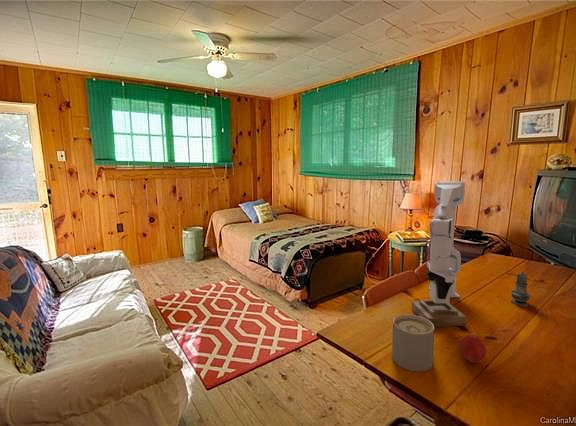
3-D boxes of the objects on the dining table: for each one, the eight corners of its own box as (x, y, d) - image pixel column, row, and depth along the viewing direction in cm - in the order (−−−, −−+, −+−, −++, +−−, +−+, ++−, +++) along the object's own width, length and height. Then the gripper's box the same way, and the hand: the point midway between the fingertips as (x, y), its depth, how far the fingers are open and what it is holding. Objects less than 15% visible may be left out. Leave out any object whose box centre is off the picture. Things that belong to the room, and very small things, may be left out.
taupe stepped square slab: (411, 309, 105) (412, 298, 104) (445, 308, 105) (446, 297, 104) (428, 327, 93) (428, 314, 92) (466, 325, 93) (466, 313, 92)
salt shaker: (534, 307, 104) (537, 274, 102) (514, 306, 105) (517, 273, 103) (524, 299, 109) (527, 268, 107) (506, 299, 110) (508, 268, 109)
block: (429, 297, 100) (430, 280, 100) (442, 297, 100) (443, 280, 99) (435, 303, 96) (435, 285, 95) (449, 303, 96) (450, 285, 95)
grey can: (418, 377, 71) (419, 338, 70) (384, 356, 79) (384, 321, 78) (447, 356, 79) (449, 321, 77) (413, 339, 87) (414, 307, 85)
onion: (453, 355, 79) (454, 327, 78) (473, 353, 79) (475, 326, 78) (468, 370, 73) (470, 340, 72) (490, 368, 74) (492, 338, 72)
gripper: (464, 262, 88) (462, 305, 90) (442, 249, 103) (440, 286, 105) (440, 262, 89) (438, 305, 91) (421, 249, 103) (420, 286, 105)
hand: (438, 295), depth 98 cm, fingers closed on block, 4 cm apart
